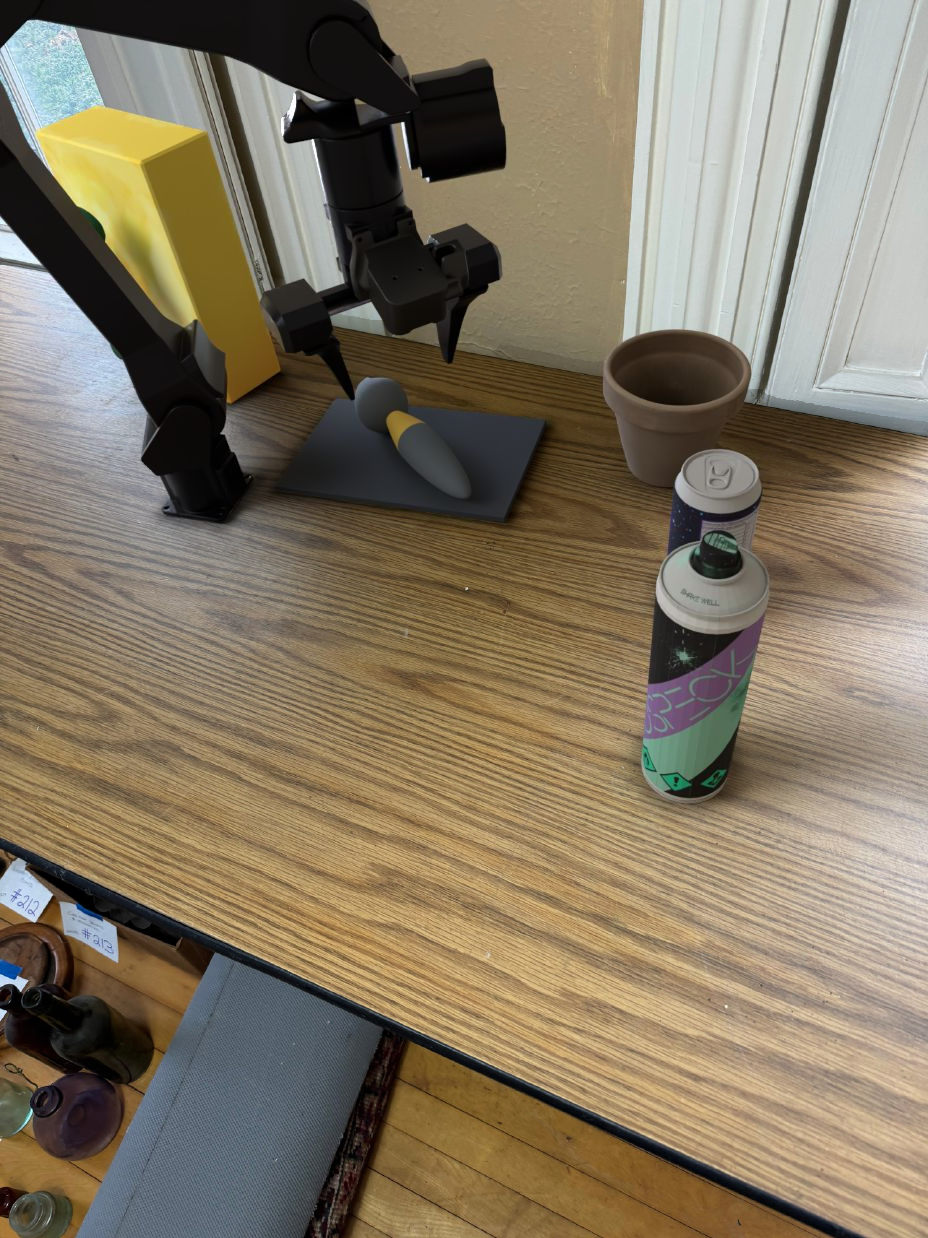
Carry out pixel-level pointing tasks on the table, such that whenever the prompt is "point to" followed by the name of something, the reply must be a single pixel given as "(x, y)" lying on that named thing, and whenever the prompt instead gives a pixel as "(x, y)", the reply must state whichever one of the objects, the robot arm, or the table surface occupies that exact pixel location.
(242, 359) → the mottled yellow carton
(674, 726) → the spray can
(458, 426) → the mat
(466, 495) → the paintbrush
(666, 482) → the flower pot
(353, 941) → the table surface
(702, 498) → the beverage can
